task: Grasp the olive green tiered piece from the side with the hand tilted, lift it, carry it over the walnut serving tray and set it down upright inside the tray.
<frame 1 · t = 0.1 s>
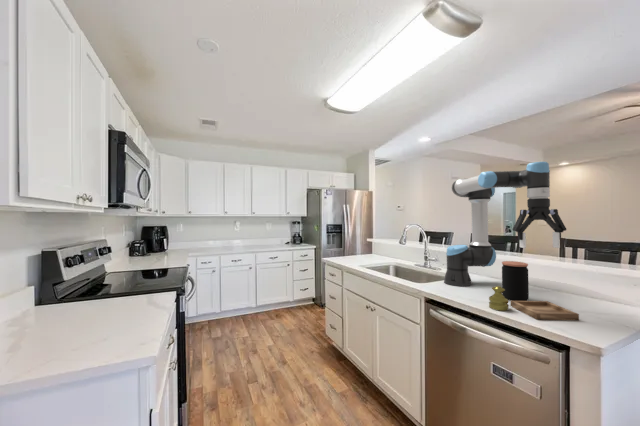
hand: (539, 247, 114), 28 cm above the countertop, tool pointing down, fingers open, 13 cm apart
tray: (542, 312, 114), on the countertop
olive green tiered piece: (498, 308, 120), on the countertop
coffee jar: (515, 299, 133), on the countertop
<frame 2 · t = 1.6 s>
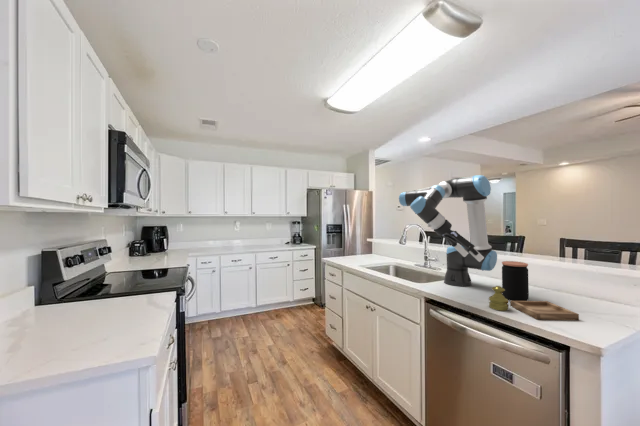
hand: (473, 257, 121), 23 cm above the countertop, tool tilted 45°, fingers open, 13 cm apart
nothing on the countertop moved.
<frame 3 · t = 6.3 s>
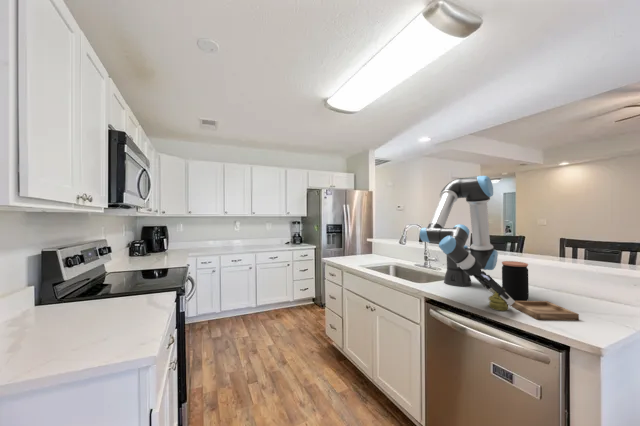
hand: (506, 300, 119), 4 cm above the countertop, tool tilted 45°, fingers closed on olive green tiered piece, 7 cm apart
olive green tiered piece: (498, 308, 120), on the countertop, touching gripper
everything else where it was.
when the fingers open (5 cm above the countertop, at t = 11.3 s): olive green tiered piece stays where it is, resting on tray.
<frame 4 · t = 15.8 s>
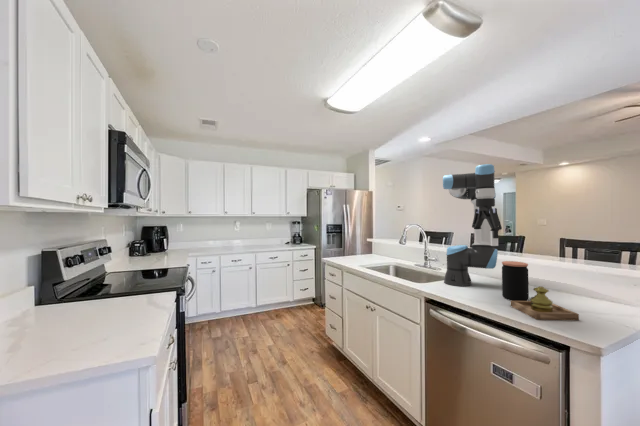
hand: (485, 244, 122), 29 cm above the countertop, tool pointing down, fingers open, 13 cm apart
olive green tiered piece: (541, 310, 114), point 1 cm above the countertop, touching tray
everything else where it was.
at the end: olive green tiered piece inside the target area on the tray (0.3 cm from its centre), point 0.8 cm above the tray's base; olive green tiered piece tilted 0°; the gripper is holding nothing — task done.
